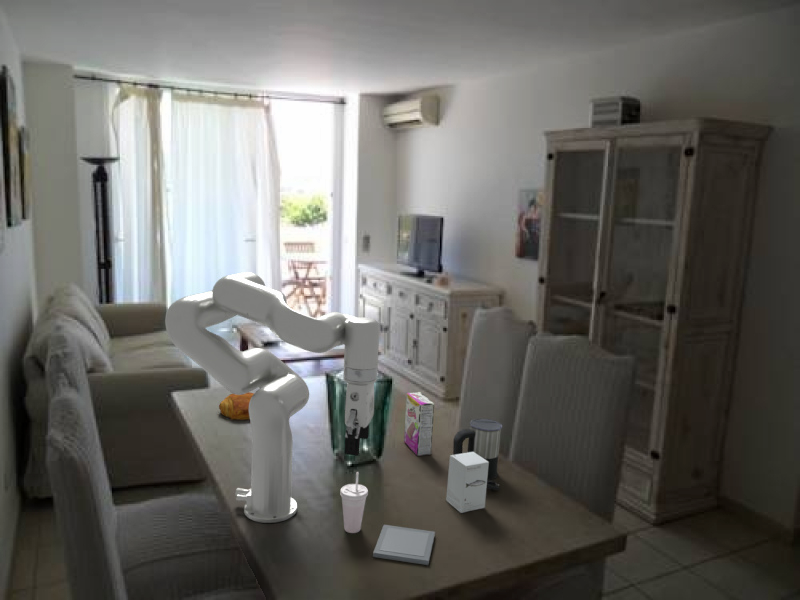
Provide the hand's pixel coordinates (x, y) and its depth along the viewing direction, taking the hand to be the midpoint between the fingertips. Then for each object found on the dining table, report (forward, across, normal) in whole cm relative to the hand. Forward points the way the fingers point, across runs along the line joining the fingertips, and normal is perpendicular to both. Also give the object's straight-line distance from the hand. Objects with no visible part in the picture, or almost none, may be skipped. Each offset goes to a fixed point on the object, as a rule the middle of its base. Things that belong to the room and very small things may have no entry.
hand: (356, 445), depth 144 cm
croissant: (+21, +63, +53) cm, 85 cm away
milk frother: (+20, +34, -29) cm, 50 cm away
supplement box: (+20, +19, -25) cm, 37 cm away
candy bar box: (+20, +51, -8) cm, 55 cm away
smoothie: (+20, 0, 0) cm, 21 cm away
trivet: (+20, -4, -13) cm, 24 cm away
